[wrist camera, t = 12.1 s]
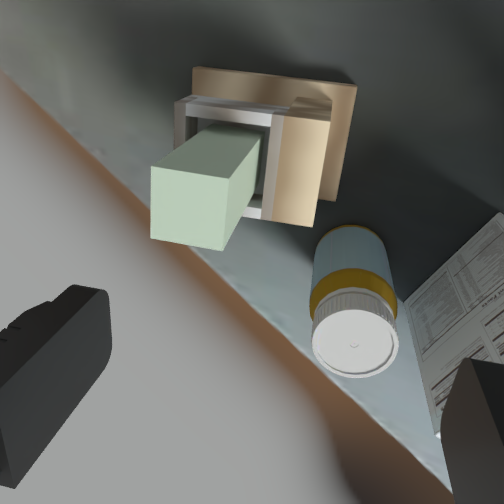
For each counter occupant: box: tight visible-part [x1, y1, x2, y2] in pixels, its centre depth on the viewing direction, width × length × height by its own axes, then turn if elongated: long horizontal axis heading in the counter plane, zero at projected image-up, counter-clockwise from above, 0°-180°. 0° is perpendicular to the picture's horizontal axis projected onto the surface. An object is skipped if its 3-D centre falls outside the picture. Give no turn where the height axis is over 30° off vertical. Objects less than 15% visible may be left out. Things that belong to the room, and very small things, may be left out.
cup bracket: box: [174, 66, 357, 227], centre depth 36 cm, size 14×10×12 cm
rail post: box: [151, 124, 265, 251], centre depth 28 cm, size 4×4×12 cm
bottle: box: [309, 225, 399, 378], centre depth 39 cm, size 7×7×15 cm
